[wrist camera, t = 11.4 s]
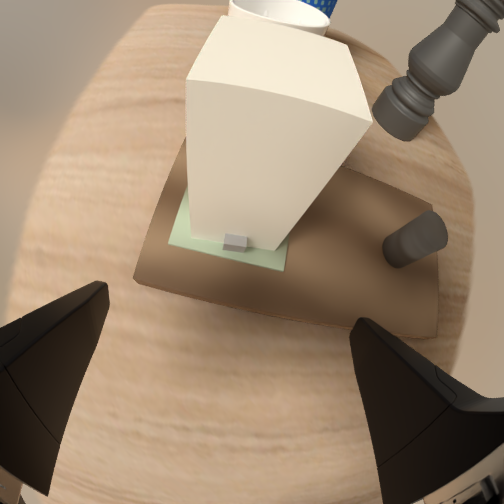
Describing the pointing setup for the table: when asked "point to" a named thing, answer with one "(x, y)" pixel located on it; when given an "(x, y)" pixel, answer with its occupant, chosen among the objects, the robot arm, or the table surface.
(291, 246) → the board
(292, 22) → the white cup
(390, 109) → the candle holder
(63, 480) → the table surface
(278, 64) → the tall white prism
